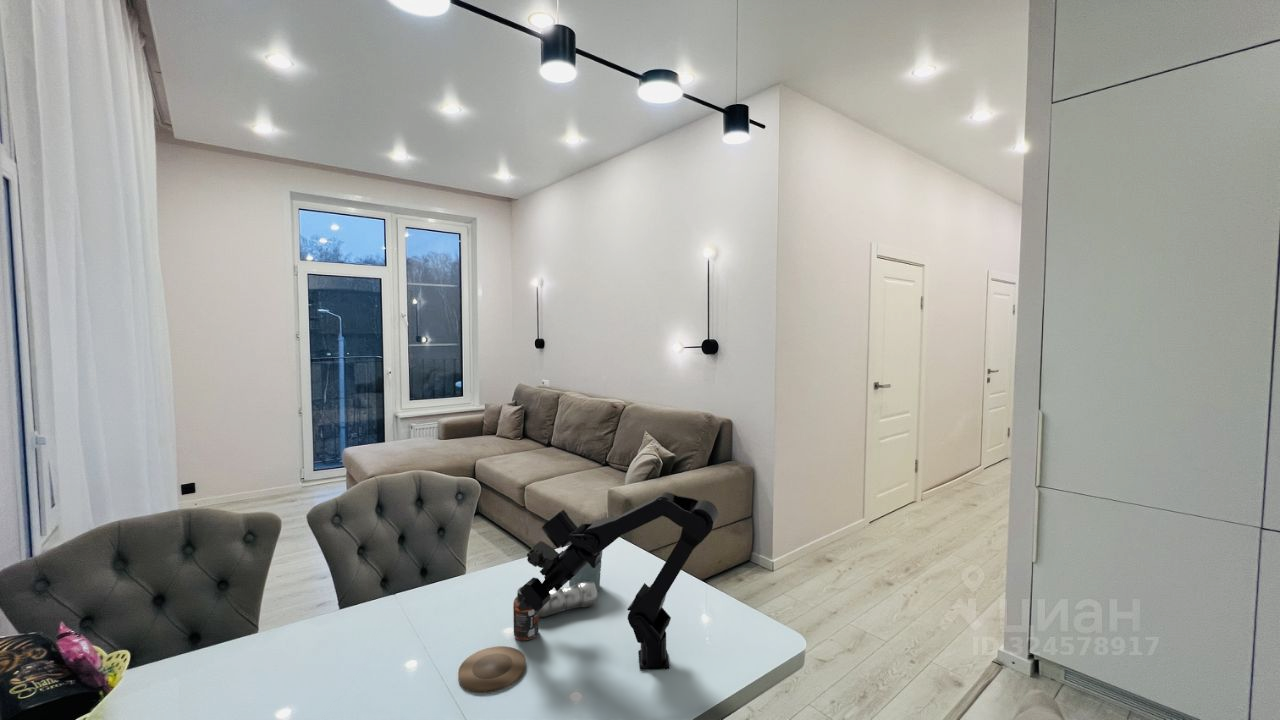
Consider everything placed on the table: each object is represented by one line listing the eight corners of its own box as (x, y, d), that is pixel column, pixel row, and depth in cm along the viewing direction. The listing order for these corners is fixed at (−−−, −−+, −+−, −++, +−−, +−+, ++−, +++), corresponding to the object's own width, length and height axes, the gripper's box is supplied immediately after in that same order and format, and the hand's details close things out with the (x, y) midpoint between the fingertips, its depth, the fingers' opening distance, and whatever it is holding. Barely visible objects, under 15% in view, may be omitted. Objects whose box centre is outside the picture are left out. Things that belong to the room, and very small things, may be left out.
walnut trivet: (519, 691, 104) (519, 686, 104) (449, 694, 104) (449, 689, 104) (530, 649, 118) (530, 644, 118) (469, 651, 118) (468, 647, 118)
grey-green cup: (565, 582, 150) (564, 542, 150) (598, 577, 153) (598, 538, 153) (570, 599, 141) (570, 556, 140) (606, 593, 144) (606, 551, 143)
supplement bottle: (539, 640, 122) (538, 595, 121) (513, 643, 121) (512, 598, 119) (538, 624, 128) (538, 581, 127) (513, 627, 127) (513, 584, 125)
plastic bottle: (590, 579, 143) (518, 595, 135) (597, 578, 137) (522, 594, 129) (594, 604, 140) (520, 622, 132) (601, 604, 135) (525, 622, 127)
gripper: (567, 520, 130) (529, 557, 134) (527, 550, 112) (485, 591, 116) (595, 555, 127) (556, 591, 132) (559, 591, 110) (516, 631, 114)
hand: (529, 599), depth 123 cm, fingers open, 9 cm apart
